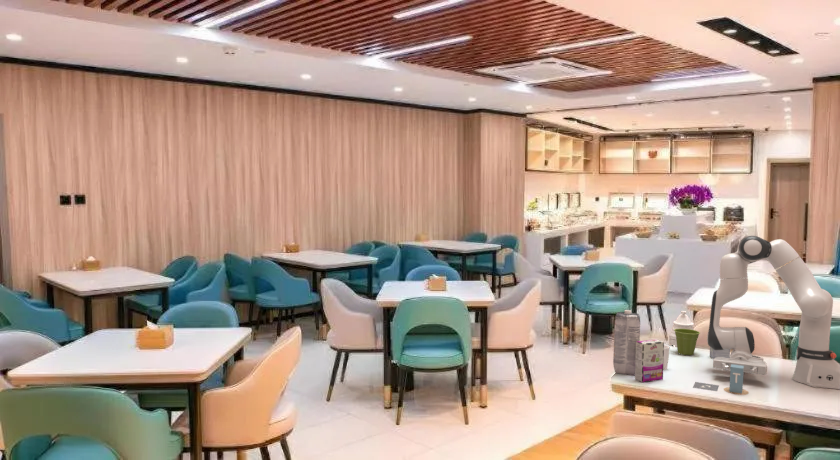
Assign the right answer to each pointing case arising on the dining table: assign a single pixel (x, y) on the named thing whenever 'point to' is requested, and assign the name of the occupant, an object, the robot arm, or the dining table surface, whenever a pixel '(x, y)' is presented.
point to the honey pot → (680, 327)
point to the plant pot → (686, 340)
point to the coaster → (736, 393)
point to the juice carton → (626, 342)
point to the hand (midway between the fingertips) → (738, 370)
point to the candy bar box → (649, 360)
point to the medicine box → (719, 353)
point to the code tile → (706, 386)
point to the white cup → (666, 357)
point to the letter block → (736, 378)
